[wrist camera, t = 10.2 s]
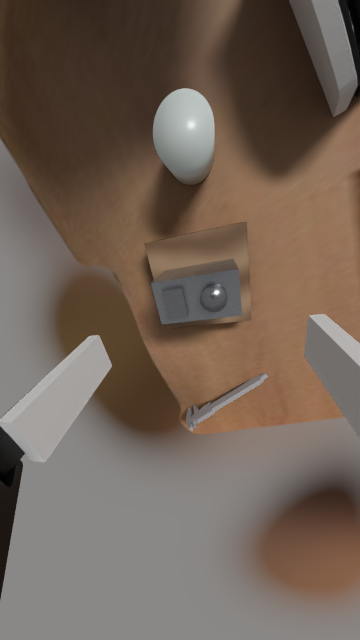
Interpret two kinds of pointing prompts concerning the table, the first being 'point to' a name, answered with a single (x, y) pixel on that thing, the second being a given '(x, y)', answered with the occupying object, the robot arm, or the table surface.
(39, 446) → the robot arm
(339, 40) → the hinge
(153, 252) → the stand
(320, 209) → the table surface
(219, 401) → the caliper
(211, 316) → the housing
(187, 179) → the pale grey pebble
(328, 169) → the table surface
